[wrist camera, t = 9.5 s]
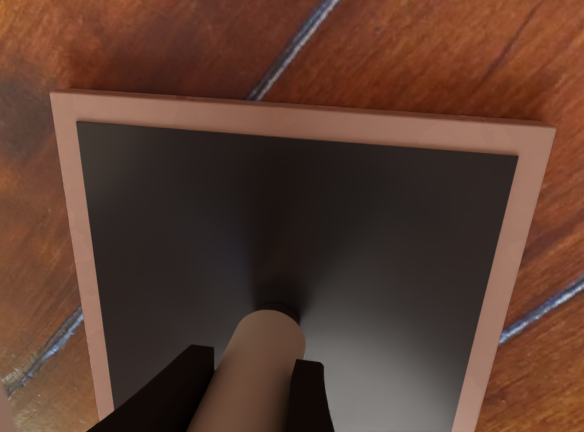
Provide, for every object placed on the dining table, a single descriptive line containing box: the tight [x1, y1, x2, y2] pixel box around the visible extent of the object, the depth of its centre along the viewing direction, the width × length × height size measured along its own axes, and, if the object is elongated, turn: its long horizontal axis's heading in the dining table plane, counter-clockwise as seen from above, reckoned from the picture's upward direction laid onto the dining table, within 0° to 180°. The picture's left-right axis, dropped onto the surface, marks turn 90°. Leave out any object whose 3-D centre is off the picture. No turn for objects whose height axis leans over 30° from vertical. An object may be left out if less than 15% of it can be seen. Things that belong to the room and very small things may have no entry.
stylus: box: [186, 303, 306, 432], centre depth 10 cm, size 2×2×9 cm
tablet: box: [50, 88, 557, 432], centre depth 16 cm, size 14×20×1 cm
